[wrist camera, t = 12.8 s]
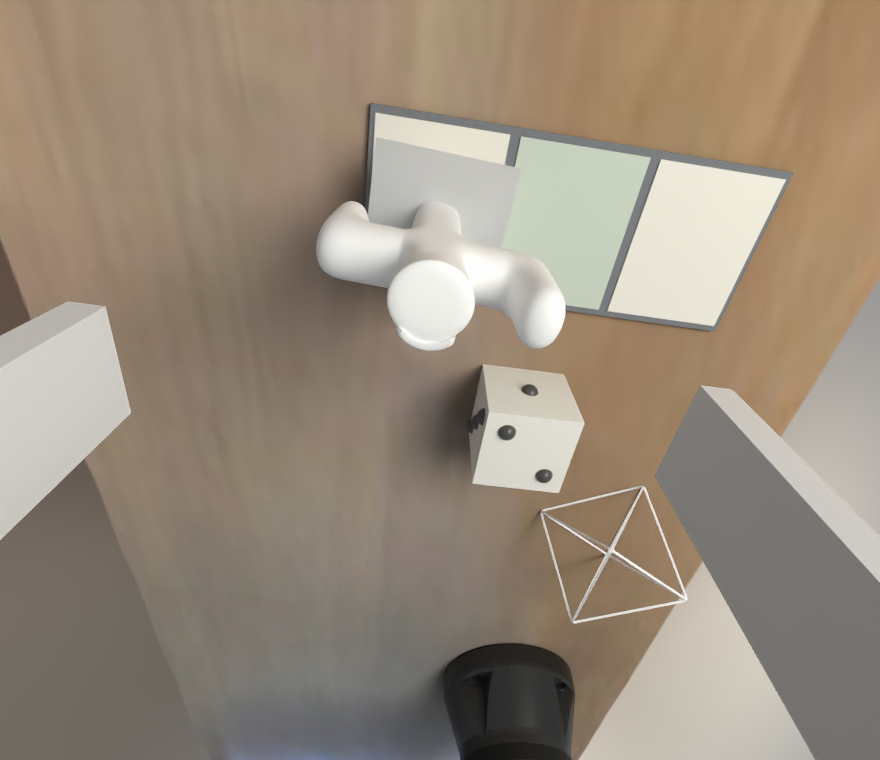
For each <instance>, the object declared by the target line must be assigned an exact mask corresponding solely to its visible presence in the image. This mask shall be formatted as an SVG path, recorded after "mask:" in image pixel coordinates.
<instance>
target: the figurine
mask: <svg viewBox="0 0 880 760" xmlns="http://www.w3.org/2000/svg"><path fill="white" fill-rule="evenodd" d="M521 170H522V169H521V168H517V167H512V166H507V165H503V164H498V163H494V162H489V161H484V160H480V159H475V158H471V157H466V156H461V155H457V154H452V153H448V152H443V151H439V150H434V149H429V148H425V147H420V146H416V145H411V144H406V143H402V142H397V141H393V140H388V139H383V138H379V137H376V145H375V154H374V163H373V173H372V182H371V191H370V200H369V209H368V214H367V212H366V210H365V208H364V207H363V206H362V205H361V204H359V203H358V202H355V201H348V202H345V203H343V204H342V205H341V206H339V207H338V208H337V209H336V210H335V211H334V212H333V213H332V214H331V215H330V216H329V217H328V218H327V220H326V221H325V222H324V224H323V225H322V227H321V229H320V232H319V234H318V238H317V244H316V255H317V260H318V263H319V265H320V267H321V268H322V270H323V271H324V272H326V273H327V274H329V275H330V276H333V277H335V278H338V279H342V280H347V281H353V282H358V283H363V284H368V285H374V286H379V287H384V288H388V292H387V308H388V311H389V314H390V316H391V318H392V320H393V322H394V323H395V324H396V325H397V326H396V333H397V335H398V336H399V337H400V338H401V339H402V340H403V341H404V342H405V343H407V344H409V345H410V346H412V347H414V348H416V349H420V350H424V351H436V350H442V349H445V348H447V347H450V346H451V345H452V344H453V343H454V341H455V335H456V334H458V333H459V332H460V331H462V330H463V329H464V328H465V326H466V325H467V324H468V323H469V321H470V319H471V317H472V314H473V312H474V306H475V305H479V306H485V307H490V308H494V309H497V310H499V311H501V312H503V313H504V314H505V315H507V316H508V317H509V318H510V319H511V320H512V322H513V324H514V326H515V329H516V333H517V335H518V337H519V339H520V340H521V342H522V343H523V344H524V345H526V346H528V347H530V348H534V349H538V348H543V347H546V346H547V345H549V344H550V343H552V342H553V341H554V339H555V338H556V337H557V335H558V334H559V332H560V330H561V328H562V325H563V322H564V318H565V301H564V297H563V295H562V293H561V291H560V289H559V287H558V286H557V284H556V282H555V281H554V279H553V277H552V276H551V274H550V272H549V271H548V269H547V268H546V266H545V265H544V264H543V263H542V262H541V261H540V260H539V259H537V258H535V257H534V256H531V255H529V254H525V253H521V252H516V251H511V250H506V249H501V246H502V242H503V238H504V235H505V231H506V227H507V223H508V219H509V216H510V212H511V208H512V204H513V200H514V197H515V193H516V189H517V185H518V181H519V178H520V174H521Z"/></svg>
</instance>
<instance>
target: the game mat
mask: <svg viewBox="0 0 880 760" xmlns="http://www.w3.org/2000/svg"><path fill="white" fill-rule="evenodd" d="M376 137H379V138H383V139H388V140H393V141H397V142H402V143H406V144H411V145H416V146H420V147H425V148H429V149H434V150H439V151H443V152H448V153H452V154H457V155H461V156H466V157H471V158H475V159H480V160H484V161H489V162H494V163H498V164H503V165H507V166H512V167H517V168H521V169H522V170H521V174H520V178H519V181H518V185H517V189H516V193H515V197H514V200H513V204H512V208H511V212H510V216H509V219H508V223H507V227H506V231H505V235H504V238H503V242H502V246H501V249H506V250H511V251H516V252H521V253H525V254H529V255H531V256H534V257H535V258H537V259H539V260H540V261H541V262H542V263H543V264H544V265H545V266H546V268H547V269H548V271H549V272H550V274H551V276H552V277H553V279H554V281H555V282H556V284H557V286H558V287H559V289H560V291H561V293H562V295H563V297H564V301H565V311H572V312H580V313H587V314H594V315H601V316H608V317H615V318H622V319H629V320H637V321H644V322H651V323H658V324H665V325H672V326H679V327H686V328H694V329H701V330H708V331H715V330H716V328H717V326H718V324H719V322H720V320H721V318H722V316H723V314H724V312H725V310H726V308H727V306H728V304H729V302H730V300H731V298H732V296H733V294H734V292H735V290H736V288H737V286H738V284H739V282H740V280H741V278H742V276H743V274H744V272H745V270H746V268H747V266H748V264H749V262H750V260H751V258H752V256H753V254H754V252H755V250H756V248H757V246H758V244H759V242H760V240H761V238H762V236H763V234H764V232H765V230H766V228H767V226H768V224H769V222H770V220H771V218H772V216H773V214H774V212H775V210H776V208H777V206H778V204H779V201H780V199H781V197H782V195H783V193H784V191H785V189H786V187H787V185H788V183H789V181H790V179H791V177H792V175H793V172H787V171H781V170H775V169H769V168H763V167H757V166H751V165H744V164H738V163H732V162H726V161H720V160H714V159H708V158H702V157H696V156H690V155H684V154H678V153H672V152H665V151H659V150H653V149H647V148H641V147H635V146H629V145H623V144H617V143H611V142H605V141H599V140H593V139H586V138H580V137H574V136H568V135H562V134H556V133H550V132H544V131H538V130H532V129H526V128H520V127H514V126H508V125H501V124H495V123H489V122H483V121H477V120H471V119H465V118H459V117H453V116H447V115H441V114H435V113H429V112H422V111H416V110H410V109H404V108H398V107H392V106H386V105H380V104H374V103H371V107H370V125H369V143H368V161H367V179H366V197H365V210H366V212H367V214H368V209H369V200H370V191H371V182H372V173H373V163H374V154H375V145H376Z"/></svg>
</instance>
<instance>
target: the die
mask: <svg viewBox="0 0 880 760" xmlns="http://www.w3.org/2000/svg"><path fill="white" fill-rule="evenodd" d="M584 424H585V423H584V421H583V418H582V416H581V413H580V411H579V409H578V406H577V404H576V402H575V399H574V397H573V395H572V392H571V390H570V388H569V385H568V383H567V380H566V378H565V376H564V374H557V373H549V372H541V371H533V370H525V369H517V368H509V367H501V366H493V365H485V364H483V365H482V370H481V375H480V380H479V384H478V389H477V394H476V399H475V403H474V408H473V413H472V418H471V419H470V420H469V421H468V423H467V430H468V431H469V439H470V455H471V470H472V484H481V485H490V486H500V487H509V488H518V489H527V490H536V491H545V492H554V493H559V491H560V488H561V486H562V483H563V480H564V478H565V475H566V472H567V469H568V467H569V464H570V461H571V459H572V456H573V453H574V451H575V448H576V445H577V442H578V440H579V437H580V434H581V432H582V429H583V426H584Z"/></svg>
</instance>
